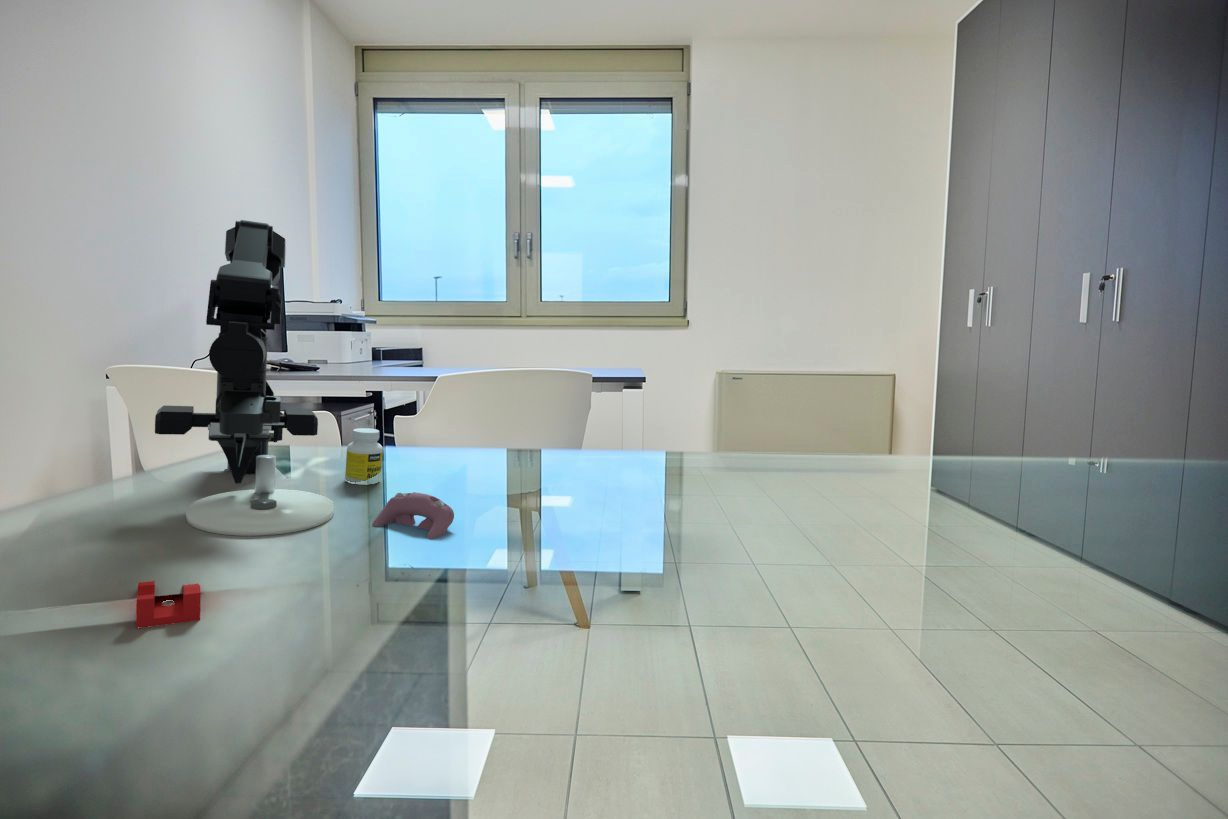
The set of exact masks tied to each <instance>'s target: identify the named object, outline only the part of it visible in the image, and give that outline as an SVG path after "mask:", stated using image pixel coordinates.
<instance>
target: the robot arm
mask: <svg viewBox="0 0 1228 819" xmlns="http://www.w3.org/2000/svg"><path fill="white" fill-rule="evenodd" d="M224 246H225V247H224V255H225V258H226V262H230V263H228V264H227V263H226V264H224V265H221V266H219V268H218V270H217V274H216V278H215V279H211V280H210V283H209V290H208V291H209V293H208V302H207V311H206V312H207V313H206V320H205V321H206V325H207V326H218V327H220V329H219V330H220V331H219V332H218V337H216V338H215V339H214V341H212V343H211V346H210V347H209V349H208V357H209V362H210V364H211V366H212V368H213V369H214V370H215V372H216V373H217V374H216V399H215V412H209V413H208V412H195V410H194V408H195V406H194V405H193V406H192V405H163V406H161V407H160V408H158V410H157V411H156V413H155V418H154V434H155V435H176V436H177V435H182V436H183V435H186V434H187V433H188V432H189V431H191V430H192V429H193V428H207V431H208V440H209V441H212V442H217V443H218V445H219V446H220V448H221V449H222V452H223V453H224V456H225V457H226V460H227V463H226V464H227V467H226V468H225V469H224V470H223V471H224V472H231V476H232V478H233V482H234V484H236V485H237V484H239V485H240V484H242V482H243V480H244V477H245V475H254V474H255V475H256V457H257V456H259V455H269V443H272V442H273V443H278V442H279V441H283V429H286V431H288V432H289V433H290V434H291V435H292V436H303V437H304V436H308V437H309V436H317V435H318V428H319V421H318V420H319V419H318V417H317V415H316V414H315V413H314V411H312V409H309V408H284V409H283V412H281V396H279V395H278V396H277V395H275V393H274V391H273V389H272V387H271V386H270V384H269V383H268V381H267V365H268V364H267V363H268V357H267V356H268V340H269V339H268V337H269V336H267V335H268V333H267V332H268V331H269V330H271V331H275V330H276V325H281V320H282V307H283V306H282V303H283V295H282V294H281V293H280V291H279V290H280V288H278V286H277V283H279V281H280V277H281V268H285V267H286V238H285V237H283V236H282V235H280V234H279V233H278V232H276V231H275V230H274V225H270V224H269V223H267V222H266V223H265V222H259V221H251V220H245V219H241V220H235V225H234V226H233V227H232V228H230V229H228V230H226V232H225V245H224ZM269 320H270V322H268V321H269ZM271 431H272V432H271Z"/></svg>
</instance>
